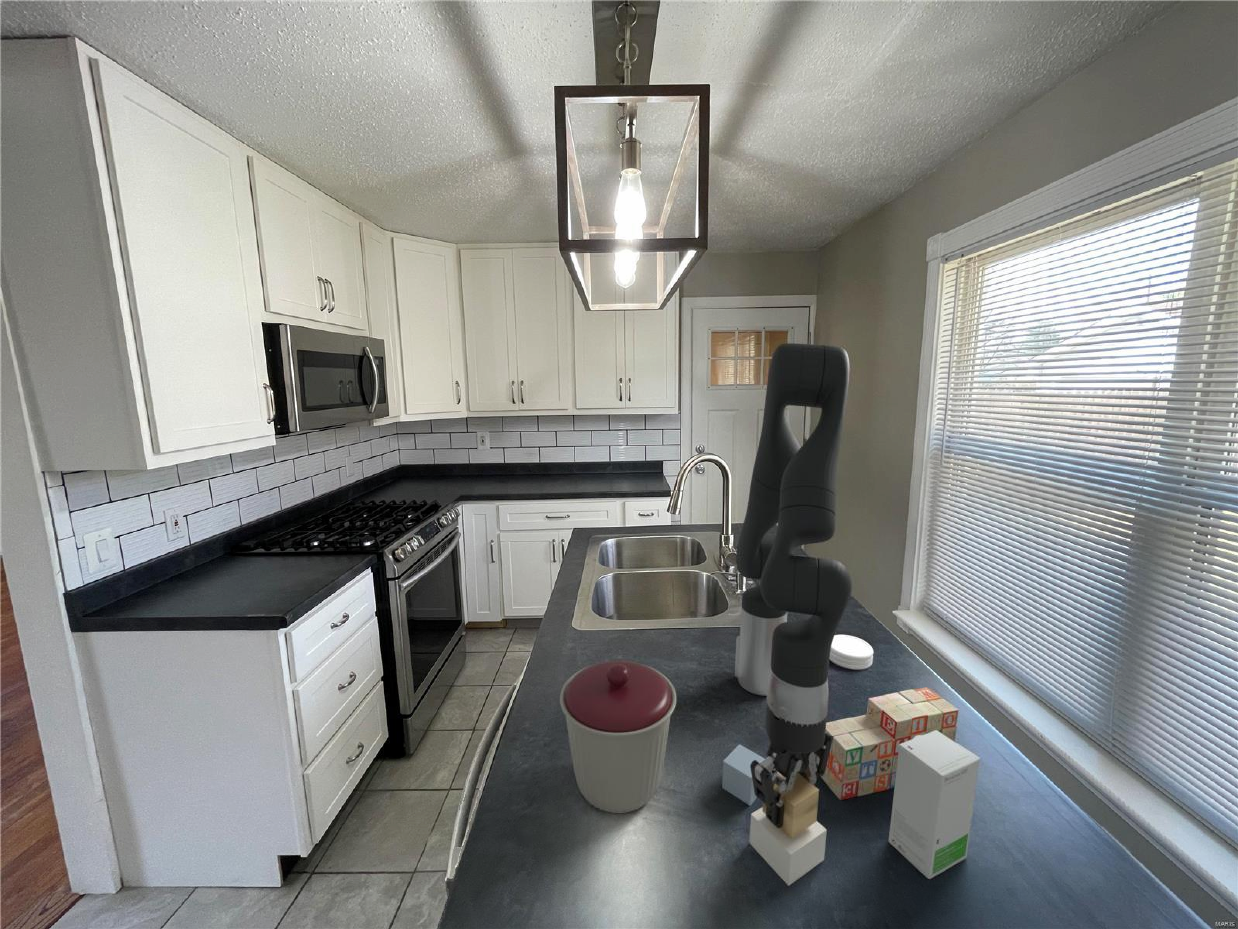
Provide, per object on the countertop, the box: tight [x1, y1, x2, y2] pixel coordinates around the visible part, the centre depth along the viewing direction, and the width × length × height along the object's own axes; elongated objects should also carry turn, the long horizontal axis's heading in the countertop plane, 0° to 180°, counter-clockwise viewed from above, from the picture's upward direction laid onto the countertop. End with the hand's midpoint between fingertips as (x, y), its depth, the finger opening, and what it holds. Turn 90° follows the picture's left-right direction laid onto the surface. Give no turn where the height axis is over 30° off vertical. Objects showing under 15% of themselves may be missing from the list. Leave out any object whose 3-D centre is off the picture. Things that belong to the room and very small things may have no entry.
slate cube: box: [721, 744, 766, 807], centre depth 80 cm, size 5×5×5 cm
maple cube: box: [762, 771, 820, 839], centre depth 68 cm, size 5×5×5 cm
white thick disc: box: [829, 634, 874, 670], centre depth 117 cm, size 10×10×4 cm
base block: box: [749, 806, 828, 886], centre depth 69 cm, size 7×7×5 cm
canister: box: [559, 659, 677, 814], centre depth 79 cm, size 18×18×21 cm
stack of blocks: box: [816, 687, 959, 801], centre depth 82 cm, size 21×6×12 cm, turn 105°
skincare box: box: [887, 730, 981, 880], centre depth 69 cm, size 8×7×16 cm
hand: (788, 813), depth 69 cm, fingers closed on maple cube, 5 cm apart
